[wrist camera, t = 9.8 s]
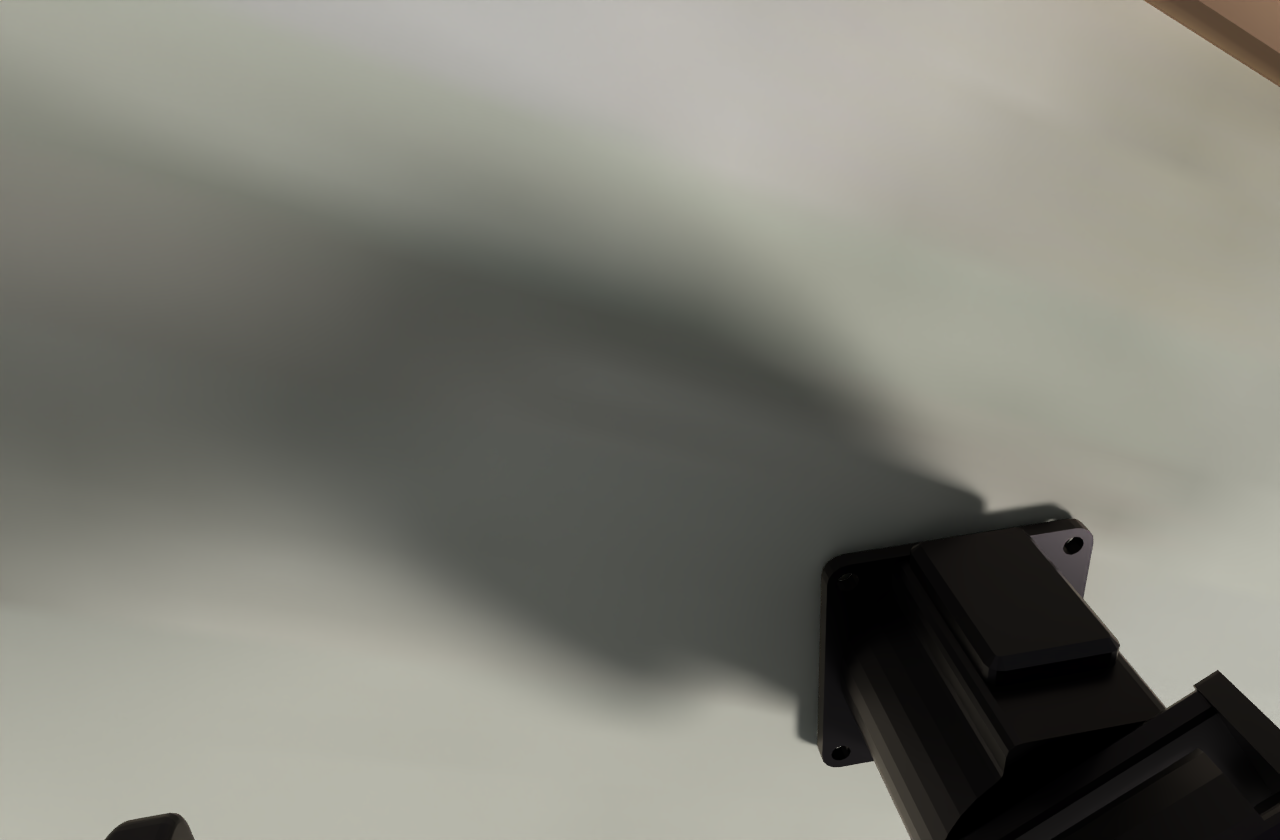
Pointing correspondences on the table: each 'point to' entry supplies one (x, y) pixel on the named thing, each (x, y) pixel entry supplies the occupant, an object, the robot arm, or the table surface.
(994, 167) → the table surface
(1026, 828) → the robot arm
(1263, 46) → the walnut block
